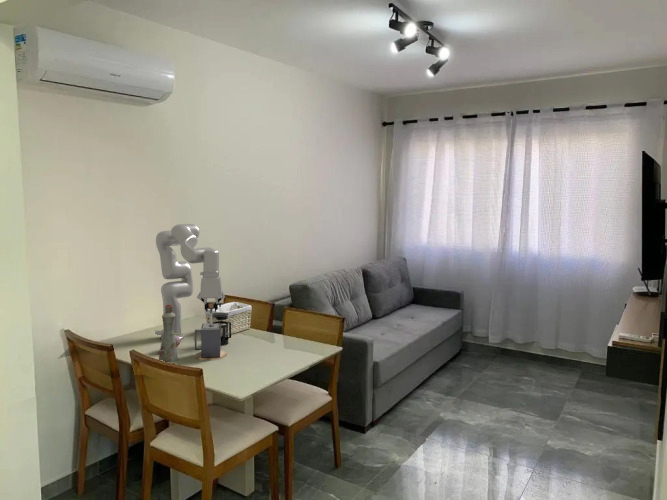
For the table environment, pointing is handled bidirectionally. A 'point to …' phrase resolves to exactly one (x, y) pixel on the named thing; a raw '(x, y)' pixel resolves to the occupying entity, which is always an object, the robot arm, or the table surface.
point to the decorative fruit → (177, 339)
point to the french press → (225, 327)
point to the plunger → (211, 310)
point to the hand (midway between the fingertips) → (211, 310)
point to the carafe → (209, 340)
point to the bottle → (168, 337)
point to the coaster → (222, 355)
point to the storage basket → (233, 316)
